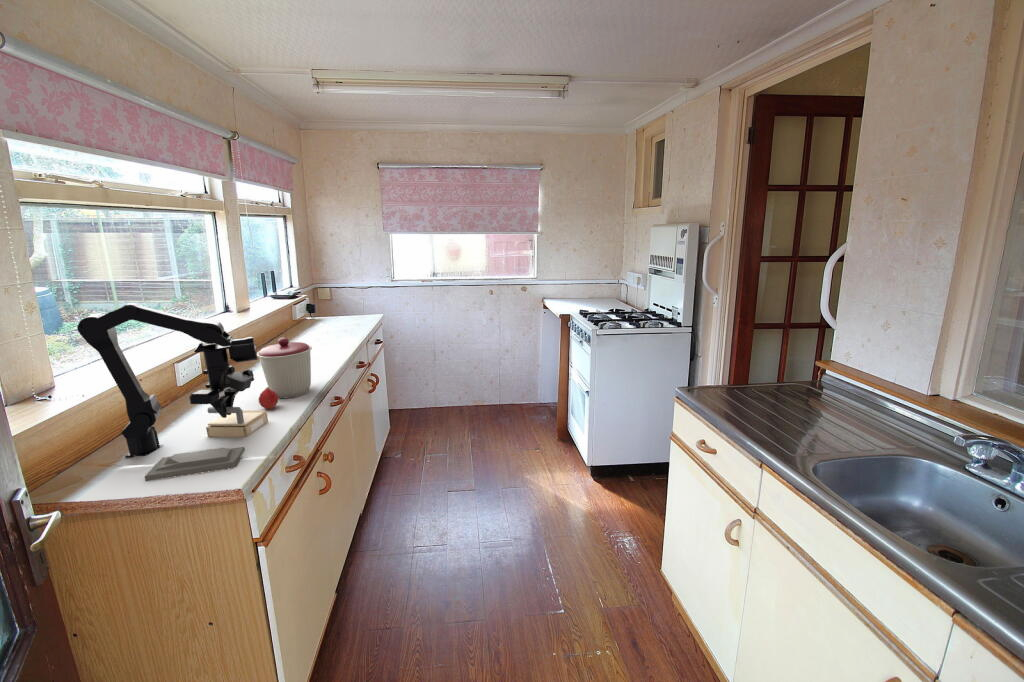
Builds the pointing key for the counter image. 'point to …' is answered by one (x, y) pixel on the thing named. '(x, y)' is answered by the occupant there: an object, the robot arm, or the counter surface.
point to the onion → (268, 398)
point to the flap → (235, 417)
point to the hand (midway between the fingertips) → (226, 416)
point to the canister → (287, 367)
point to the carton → (237, 429)
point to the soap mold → (195, 462)
